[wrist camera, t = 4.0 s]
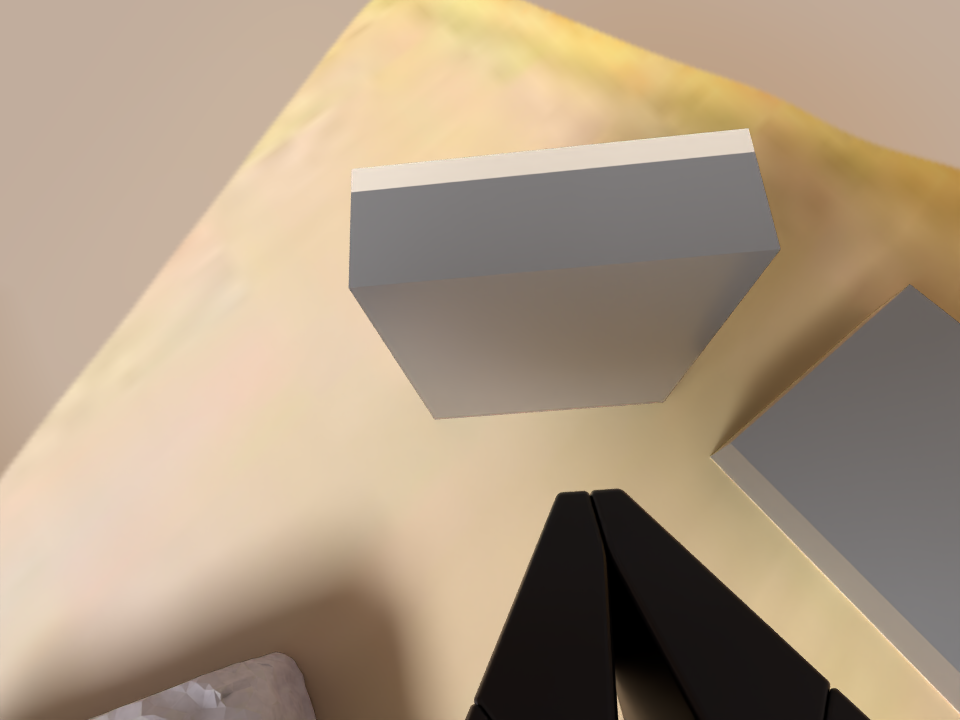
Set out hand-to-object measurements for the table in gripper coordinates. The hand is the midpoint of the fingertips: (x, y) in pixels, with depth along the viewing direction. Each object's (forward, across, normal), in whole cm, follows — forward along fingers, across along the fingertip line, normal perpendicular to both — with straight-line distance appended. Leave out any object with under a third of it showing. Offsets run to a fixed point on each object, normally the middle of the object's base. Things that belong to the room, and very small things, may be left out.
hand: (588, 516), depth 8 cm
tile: (+10, 0, +3) cm, 11 cm away
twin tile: (+7, -10, +7) cm, 14 cm away
